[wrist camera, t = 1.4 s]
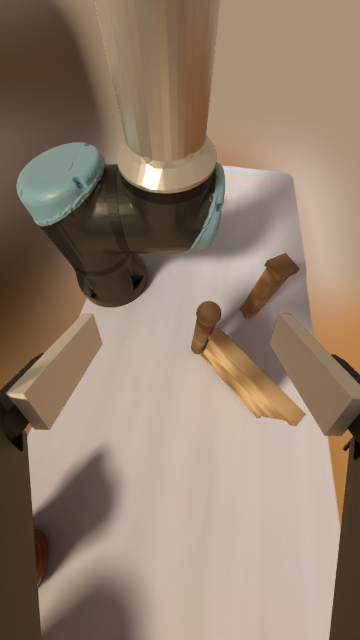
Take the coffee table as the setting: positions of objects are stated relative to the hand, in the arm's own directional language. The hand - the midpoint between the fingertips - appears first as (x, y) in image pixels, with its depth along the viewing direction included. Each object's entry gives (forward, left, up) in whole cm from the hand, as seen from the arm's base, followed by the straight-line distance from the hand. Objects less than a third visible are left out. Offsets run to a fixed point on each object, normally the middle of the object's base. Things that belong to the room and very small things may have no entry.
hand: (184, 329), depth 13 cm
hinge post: (-4, +5, -23) cm, 24 cm away
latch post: (-7, +18, -23) cm, 30 cm away
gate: (+4, +8, -22) cm, 23 cm away
